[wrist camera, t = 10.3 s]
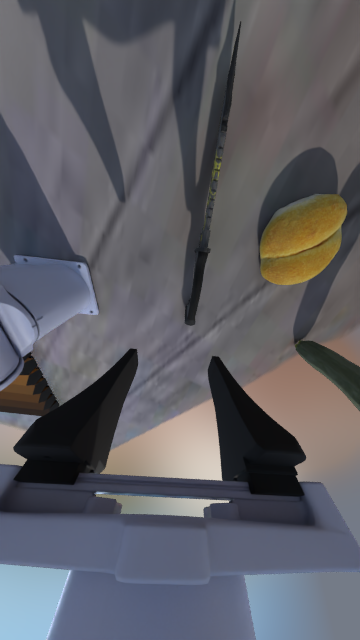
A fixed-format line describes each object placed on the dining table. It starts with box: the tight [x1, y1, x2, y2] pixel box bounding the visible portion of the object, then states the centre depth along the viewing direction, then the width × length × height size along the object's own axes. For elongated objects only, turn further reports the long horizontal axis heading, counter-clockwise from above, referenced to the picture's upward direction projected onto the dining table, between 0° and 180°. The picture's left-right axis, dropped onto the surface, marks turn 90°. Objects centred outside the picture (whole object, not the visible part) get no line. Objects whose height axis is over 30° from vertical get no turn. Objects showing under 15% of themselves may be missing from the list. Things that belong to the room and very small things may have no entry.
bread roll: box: [260, 193, 347, 285], centre depth 15 cm, size 8×9×4 cm
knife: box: [185, 22, 241, 326], centre depth 15 cm, size 23×2×5 cm, turn 174°
